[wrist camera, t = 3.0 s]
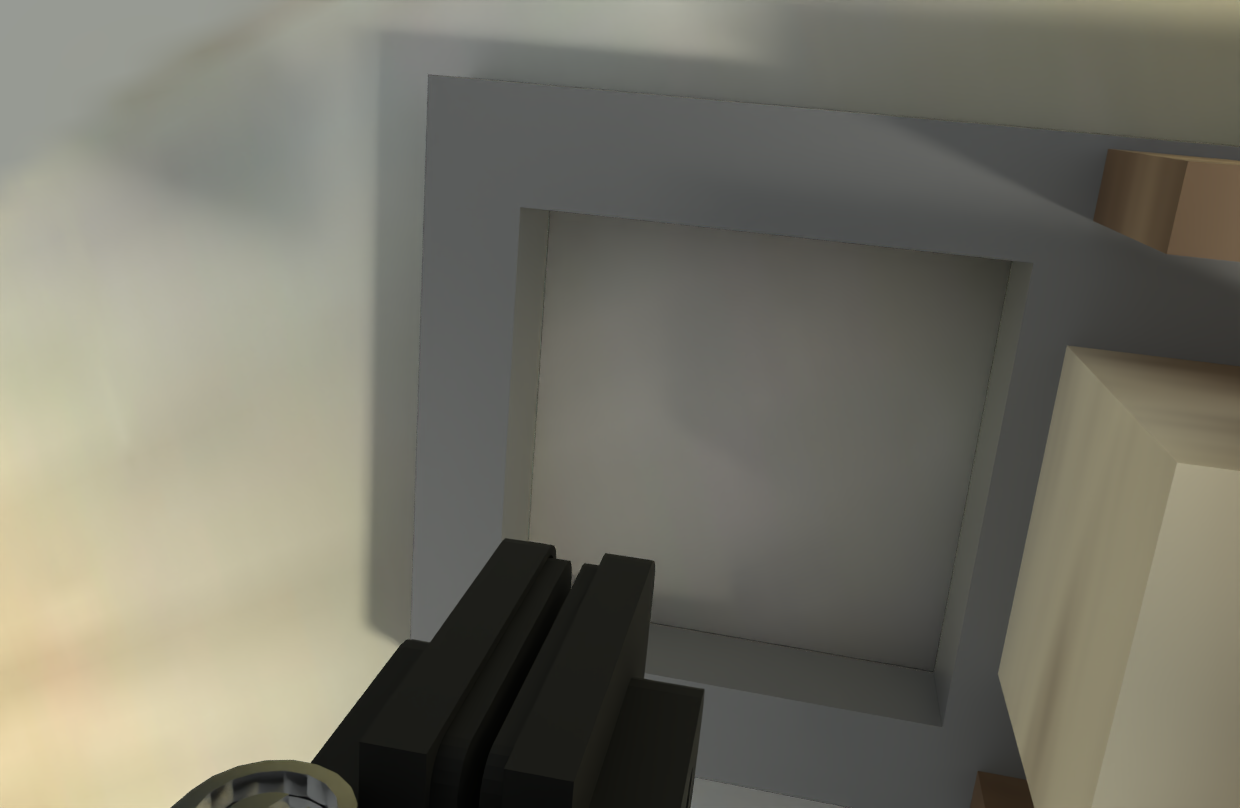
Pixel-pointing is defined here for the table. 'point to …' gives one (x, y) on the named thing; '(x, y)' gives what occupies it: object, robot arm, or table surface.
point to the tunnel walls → (1171, 223)
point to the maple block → (1132, 590)
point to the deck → (806, 208)
